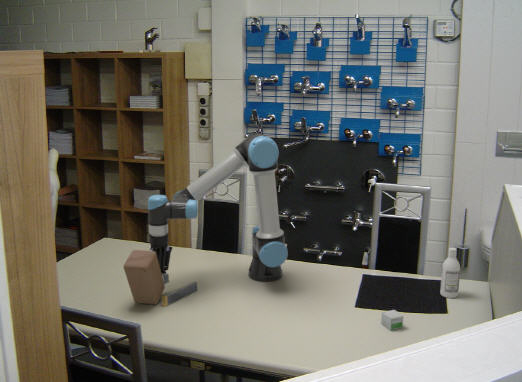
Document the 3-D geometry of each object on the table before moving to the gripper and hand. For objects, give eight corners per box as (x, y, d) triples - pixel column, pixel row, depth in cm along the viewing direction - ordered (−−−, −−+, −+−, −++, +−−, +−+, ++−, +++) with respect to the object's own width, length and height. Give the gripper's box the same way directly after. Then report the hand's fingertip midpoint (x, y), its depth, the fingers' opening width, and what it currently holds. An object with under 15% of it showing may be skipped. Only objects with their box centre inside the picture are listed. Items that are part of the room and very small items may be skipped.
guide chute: (197, 290, 228) (197, 281, 227) (165, 306, 213) (165, 297, 212) (166, 280, 238) (165, 272, 237) (133, 295, 223) (132, 286, 222)
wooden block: (157, 305, 214) (146, 268, 202) (133, 303, 216) (121, 265, 205) (166, 287, 222) (156, 250, 210) (143, 285, 224) (132, 248, 212)
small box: (390, 331, 193) (390, 318, 192) (380, 324, 199) (381, 311, 197) (403, 328, 196) (404, 315, 194) (393, 321, 201) (394, 309, 200)
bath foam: (461, 297, 221) (465, 250, 217) (447, 299, 219) (451, 252, 214) (450, 290, 228) (454, 245, 223) (436, 293, 225) (440, 247, 221)
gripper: (163, 228, 225) (165, 281, 231) (140, 235, 215) (142, 291, 221) (176, 231, 221) (178, 285, 227) (153, 239, 211) (155, 296, 216)
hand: (160, 288), depth 224 cm, fingers closed
